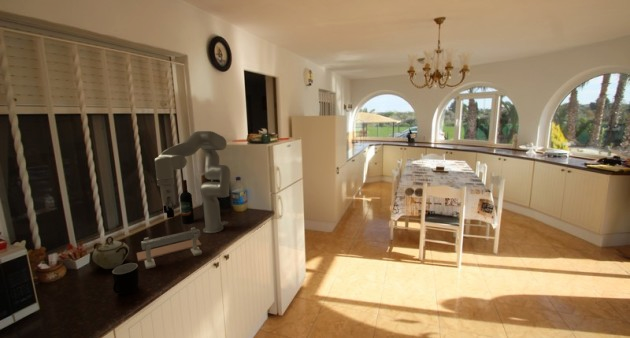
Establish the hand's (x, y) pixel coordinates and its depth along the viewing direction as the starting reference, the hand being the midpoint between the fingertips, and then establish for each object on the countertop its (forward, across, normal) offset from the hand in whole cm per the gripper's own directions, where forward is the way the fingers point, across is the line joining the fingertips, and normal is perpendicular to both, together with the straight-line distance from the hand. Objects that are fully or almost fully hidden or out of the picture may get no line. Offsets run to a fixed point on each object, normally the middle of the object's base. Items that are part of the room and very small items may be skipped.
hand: (169, 214), depth 146 cm
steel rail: (+14, 0, 0) cm, 15 cm away
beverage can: (+23, +57, -33) cm, 70 cm away
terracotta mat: (+23, +12, 0) cm, 26 cm away
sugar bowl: (+24, +11, +26) cm, 37 cm away
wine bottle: (+23, +52, -18) cm, 60 cm away
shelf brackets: (+24, 0, 0) cm, 24 cm away
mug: (+24, -21, +22) cm, 38 cm away
